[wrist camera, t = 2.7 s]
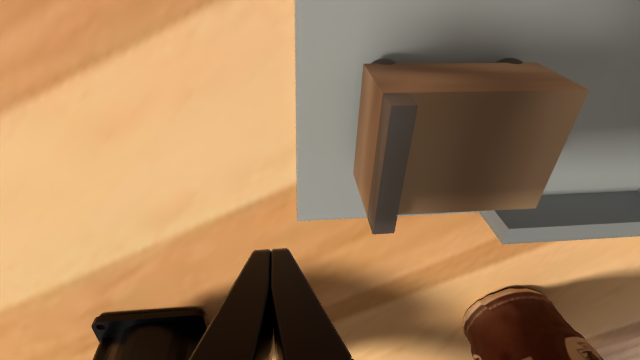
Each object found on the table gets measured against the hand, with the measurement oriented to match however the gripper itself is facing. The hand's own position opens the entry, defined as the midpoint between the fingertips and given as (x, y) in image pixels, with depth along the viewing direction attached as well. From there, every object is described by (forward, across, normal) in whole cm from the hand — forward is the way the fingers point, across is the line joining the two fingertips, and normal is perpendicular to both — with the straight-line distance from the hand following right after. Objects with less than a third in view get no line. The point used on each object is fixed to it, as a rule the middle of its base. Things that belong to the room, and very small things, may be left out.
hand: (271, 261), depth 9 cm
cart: (+8, -7, 0) cm, 11 cm away
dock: (+9, -11, 0) cm, 14 cm away
